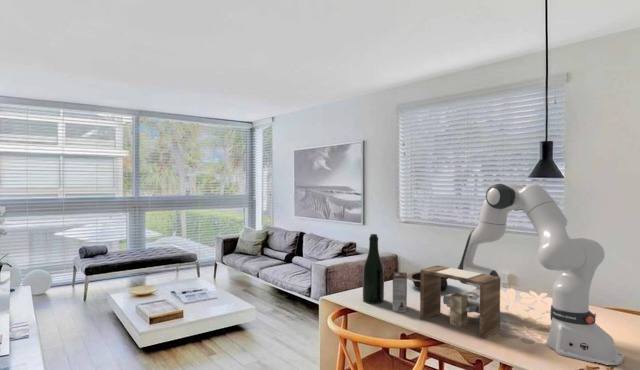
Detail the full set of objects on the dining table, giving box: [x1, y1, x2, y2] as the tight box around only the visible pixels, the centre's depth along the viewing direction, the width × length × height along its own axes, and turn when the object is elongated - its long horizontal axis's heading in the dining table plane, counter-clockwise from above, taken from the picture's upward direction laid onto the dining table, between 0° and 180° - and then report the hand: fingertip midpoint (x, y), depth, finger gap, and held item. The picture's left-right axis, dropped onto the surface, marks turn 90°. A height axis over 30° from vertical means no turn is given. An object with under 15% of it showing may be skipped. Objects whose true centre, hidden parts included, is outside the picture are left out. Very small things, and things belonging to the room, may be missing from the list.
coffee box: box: [392, 271, 408, 313], centre depth 183 cm, size 9×6×16 cm
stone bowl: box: [407, 270, 449, 291], centre depth 220 cm, size 25×25×9 cm
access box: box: [419, 265, 501, 339], centre depth 164 cm, size 28×14×21 cm, turn 41°
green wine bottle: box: [362, 233, 385, 304], centre depth 195 cm, size 10×10×33 cm
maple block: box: [449, 292, 468, 328], centre depth 164 cm, size 5×5×12 cm
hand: (457, 307), depth 164 cm, fingers open, 7 cm apart
